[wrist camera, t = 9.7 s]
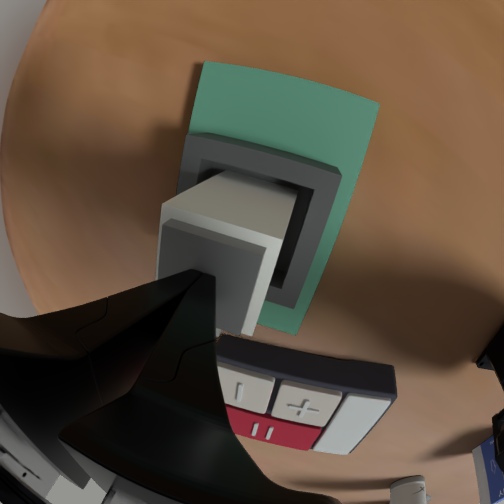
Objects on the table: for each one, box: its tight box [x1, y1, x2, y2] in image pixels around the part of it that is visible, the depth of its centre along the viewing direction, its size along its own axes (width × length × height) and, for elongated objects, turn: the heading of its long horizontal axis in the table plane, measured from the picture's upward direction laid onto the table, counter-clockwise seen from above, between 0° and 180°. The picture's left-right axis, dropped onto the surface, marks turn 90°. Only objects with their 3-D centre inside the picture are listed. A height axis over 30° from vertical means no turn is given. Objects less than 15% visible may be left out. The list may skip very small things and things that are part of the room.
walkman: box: [472, 436, 504, 504], centre depth 18 cm, size 8×3×12 cm, turn 154°
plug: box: [155, 170, 298, 337], centre depth 13 cm, size 4×5×8 cm
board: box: [176, 61, 380, 335], centre depth 16 cm, size 10×16×4 cm, turn 166°
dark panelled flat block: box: [216, 335, 397, 455], centre depth 23 cm, size 11×4×15 cm
